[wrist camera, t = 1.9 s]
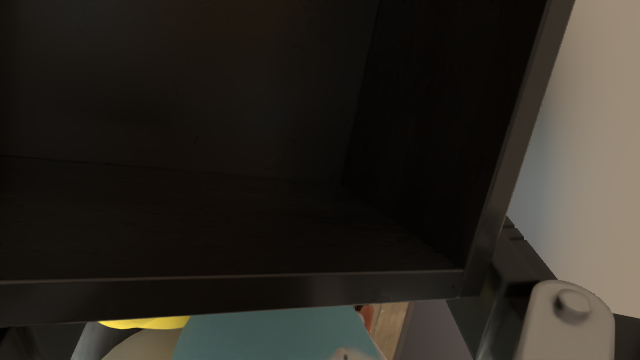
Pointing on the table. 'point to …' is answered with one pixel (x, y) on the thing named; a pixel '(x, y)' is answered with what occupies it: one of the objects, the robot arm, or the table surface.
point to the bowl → (146, 345)
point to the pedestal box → (259, 151)
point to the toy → (278, 336)
